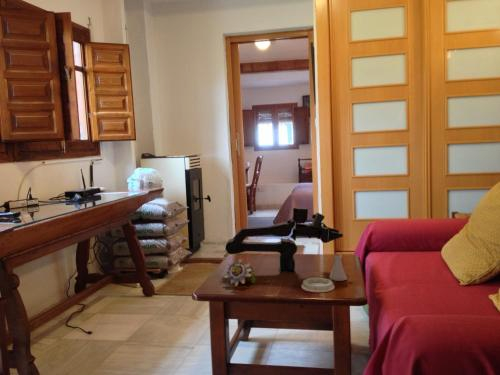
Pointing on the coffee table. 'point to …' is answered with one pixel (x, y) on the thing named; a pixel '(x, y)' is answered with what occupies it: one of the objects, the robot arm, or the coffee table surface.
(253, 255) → the coffee table surface
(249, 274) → the passion flower
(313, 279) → the shaker seat
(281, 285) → the coffee table surface
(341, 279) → the flask
